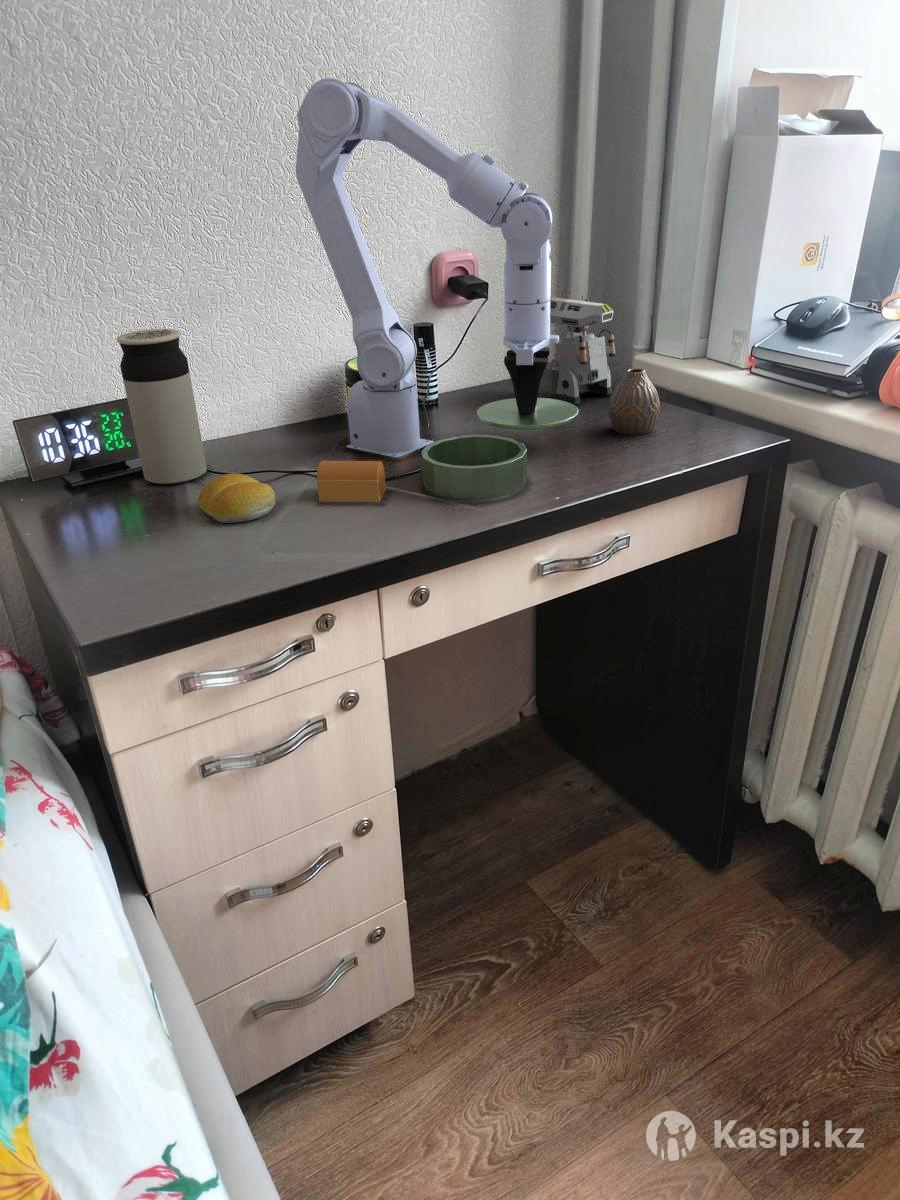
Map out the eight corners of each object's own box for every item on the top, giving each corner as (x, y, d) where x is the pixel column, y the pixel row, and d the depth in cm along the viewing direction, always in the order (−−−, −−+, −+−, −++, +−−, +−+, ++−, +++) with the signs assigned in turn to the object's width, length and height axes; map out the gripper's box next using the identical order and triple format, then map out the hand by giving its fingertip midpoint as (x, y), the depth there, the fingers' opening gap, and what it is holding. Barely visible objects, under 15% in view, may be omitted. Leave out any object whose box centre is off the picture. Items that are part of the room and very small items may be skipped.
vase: (665, 429, 122) (669, 366, 118) (647, 443, 117) (651, 378, 113) (619, 424, 126) (622, 362, 122) (599, 437, 121) (601, 373, 117)
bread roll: (227, 531, 96) (221, 497, 95) (191, 510, 103) (185, 478, 101) (291, 510, 101) (287, 477, 99) (253, 491, 107) (248, 460, 105)
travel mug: (219, 473, 114) (194, 332, 106) (165, 490, 109) (135, 343, 101) (186, 461, 119) (160, 325, 111) (133, 477, 114) (101, 336, 106)
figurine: (565, 385, 146) (567, 292, 139) (619, 397, 139) (624, 298, 132) (527, 396, 141) (527, 300, 134) (581, 409, 133) (584, 307, 126)
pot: (403, 491, 105) (400, 456, 103) (464, 462, 114) (462, 429, 112) (487, 511, 98) (486, 474, 96) (545, 478, 107) (545, 444, 105)
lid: (456, 424, 115) (455, 385, 112) (513, 400, 124) (512, 364, 122) (543, 439, 107) (544, 398, 105) (596, 413, 117) (598, 375, 114)
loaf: (319, 504, 102) (315, 468, 100) (328, 491, 106) (324, 456, 104) (379, 504, 102) (376, 468, 99) (386, 491, 105) (383, 456, 103)
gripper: (558, 310, 102) (556, 424, 108) (560, 291, 114) (558, 393, 121) (498, 311, 103) (500, 424, 109) (506, 292, 115) (507, 394, 122)
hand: (527, 408), depth 115 cm, fingers closed on lid, 2 cm apart
